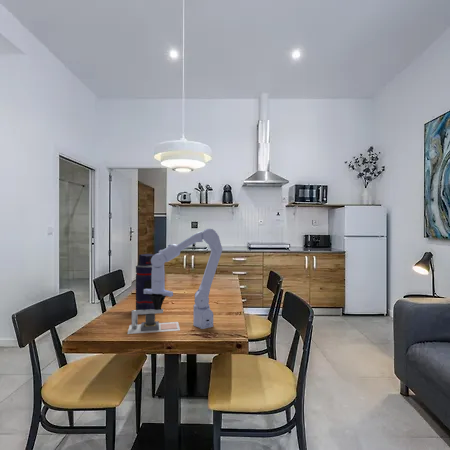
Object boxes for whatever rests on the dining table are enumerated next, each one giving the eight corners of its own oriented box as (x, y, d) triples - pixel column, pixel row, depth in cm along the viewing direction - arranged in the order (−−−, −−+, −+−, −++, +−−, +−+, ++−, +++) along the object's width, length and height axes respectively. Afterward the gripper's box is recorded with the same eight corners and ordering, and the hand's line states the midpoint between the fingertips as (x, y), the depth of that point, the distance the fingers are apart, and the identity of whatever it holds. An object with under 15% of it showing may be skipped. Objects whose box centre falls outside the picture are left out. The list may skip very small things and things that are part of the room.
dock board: (178, 323, 146) (178, 318, 146) (180, 332, 135) (180, 326, 135) (129, 326, 142) (129, 321, 142) (127, 335, 130) (127, 330, 130)
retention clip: (131, 329, 135) (131, 311, 135) (131, 327, 137) (131, 310, 137) (163, 327, 138) (163, 309, 138) (162, 325, 140) (163, 308, 140)
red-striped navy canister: (163, 311, 167) (163, 254, 168) (144, 315, 159) (144, 255, 159) (148, 306, 177) (148, 252, 177) (129, 310, 168) (129, 254, 168)
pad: (176, 323, 144) (176, 323, 144) (177, 328, 137) (177, 328, 137) (160, 324, 142) (160, 324, 142) (160, 329, 135) (160, 329, 135)
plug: (156, 328, 137) (157, 314, 137) (147, 330, 135) (147, 315, 135) (153, 325, 141) (153, 312, 141) (143, 327, 138) (143, 313, 138)
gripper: (176, 280, 141) (176, 310, 141) (150, 278, 147) (150, 307, 147) (167, 282, 135) (167, 314, 135) (140, 280, 141) (140, 310, 141)
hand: (158, 311), depth 141 cm, fingers closed
